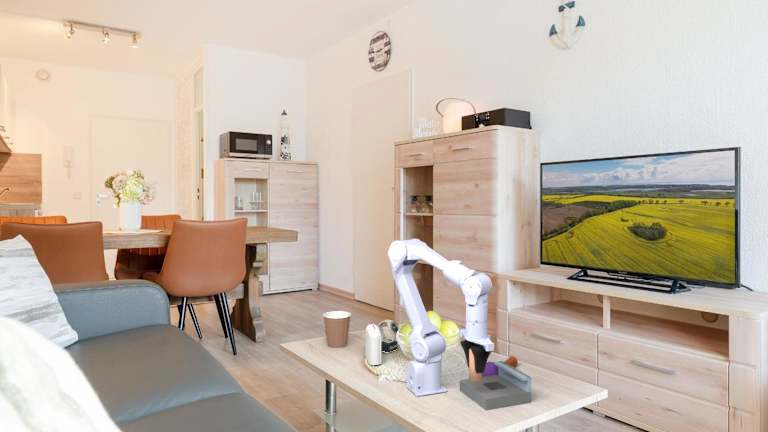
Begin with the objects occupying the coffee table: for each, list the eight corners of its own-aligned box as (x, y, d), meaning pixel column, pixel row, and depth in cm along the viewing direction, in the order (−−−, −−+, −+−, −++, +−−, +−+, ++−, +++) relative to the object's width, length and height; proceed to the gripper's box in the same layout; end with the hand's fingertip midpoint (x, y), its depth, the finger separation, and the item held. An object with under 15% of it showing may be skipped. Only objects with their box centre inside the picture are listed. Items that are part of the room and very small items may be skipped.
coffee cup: (339, 340, 193) (339, 309, 192) (356, 346, 185) (356, 314, 184) (317, 346, 186) (317, 313, 185) (334, 352, 178) (334, 319, 178)
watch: (392, 354, 176) (393, 323, 176) (374, 350, 181) (374, 320, 180) (402, 350, 181) (402, 320, 180) (384, 346, 185) (384, 317, 185)
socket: (486, 410, 132) (486, 383, 131) (459, 390, 145) (459, 366, 144) (530, 402, 137) (531, 377, 136) (501, 384, 150) (501, 360, 149)
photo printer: (364, 356, 174) (364, 321, 173) (376, 356, 175) (376, 320, 174) (369, 367, 164) (369, 329, 163) (382, 366, 165) (382, 328, 164)
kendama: (523, 356, 163) (497, 368, 148) (519, 373, 164) (492, 387, 148) (506, 349, 167) (479, 360, 151) (502, 366, 168) (475, 379, 152)
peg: (473, 382, 133) (473, 352, 132) (466, 377, 136) (466, 348, 135) (484, 380, 134) (485, 350, 133) (477, 375, 137) (478, 347, 137)
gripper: (504, 325, 129) (503, 377, 129) (475, 312, 142) (475, 359, 143) (480, 327, 126) (479, 380, 127) (453, 314, 140) (453, 362, 141)
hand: (475, 369), depth 135 cm, fingers closed on peg, 3 cm apart
